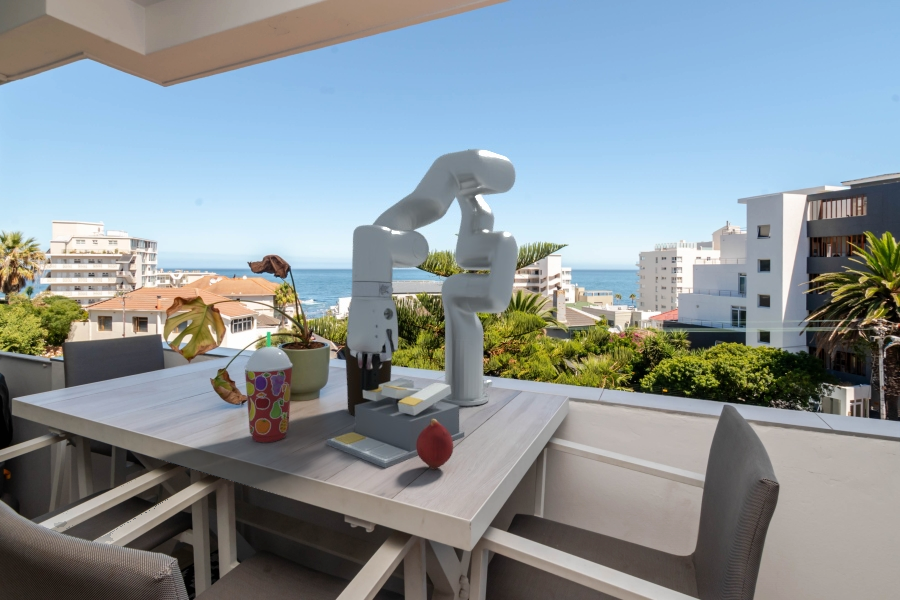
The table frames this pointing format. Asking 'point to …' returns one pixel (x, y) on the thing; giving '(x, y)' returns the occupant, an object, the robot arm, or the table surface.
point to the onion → (434, 445)
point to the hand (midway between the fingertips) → (369, 389)
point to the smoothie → (268, 392)
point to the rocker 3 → (424, 398)
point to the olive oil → (354, 379)
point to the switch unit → (392, 430)
